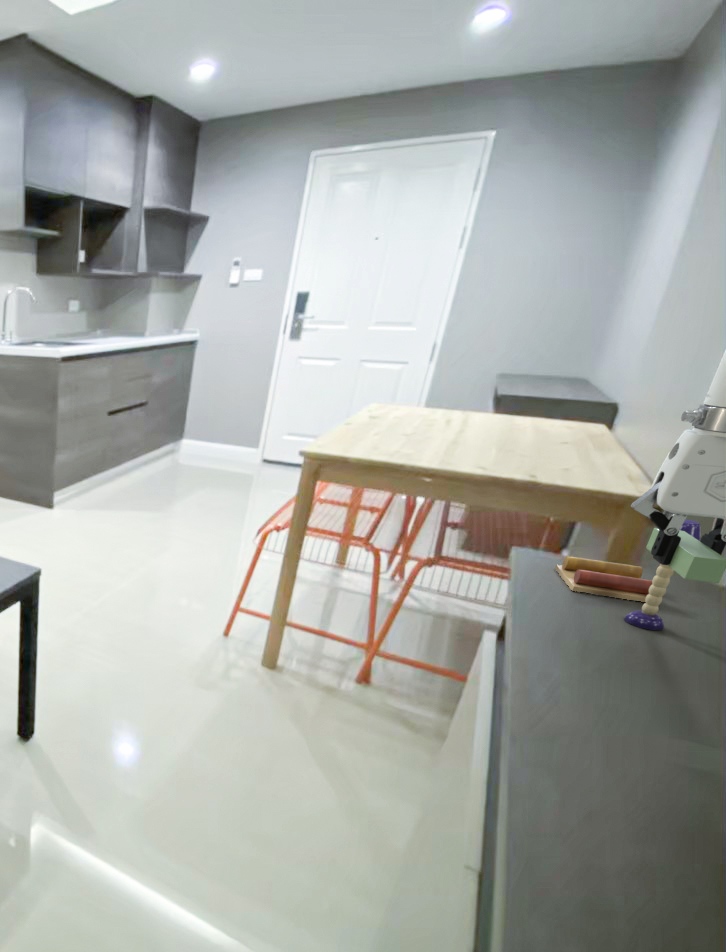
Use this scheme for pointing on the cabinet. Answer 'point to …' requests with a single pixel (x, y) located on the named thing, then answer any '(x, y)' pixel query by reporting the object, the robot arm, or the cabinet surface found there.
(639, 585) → the rod stand
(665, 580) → the toy lamp
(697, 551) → the bar
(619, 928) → the cabinet surface
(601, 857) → the cabinet surface
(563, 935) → the cabinet surface
